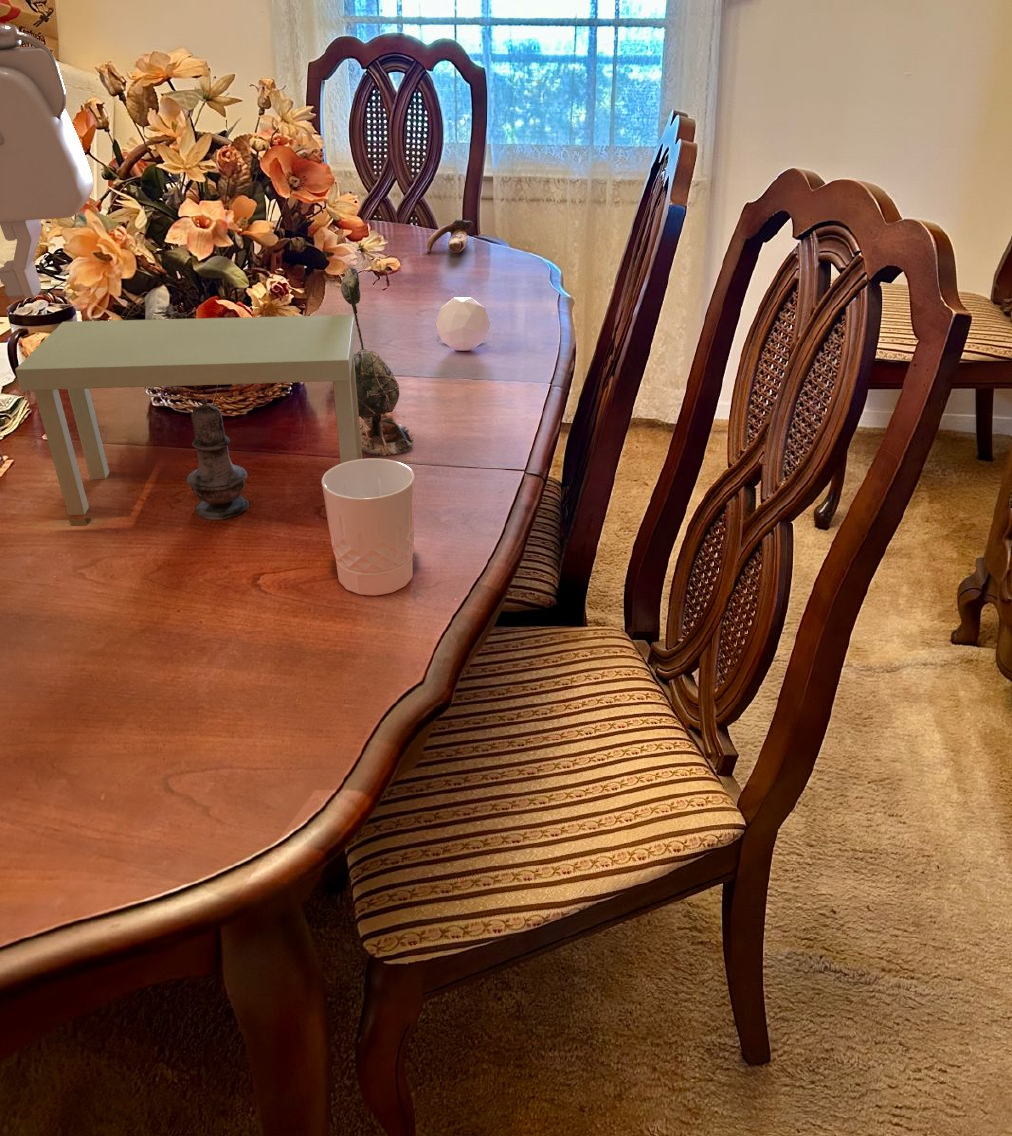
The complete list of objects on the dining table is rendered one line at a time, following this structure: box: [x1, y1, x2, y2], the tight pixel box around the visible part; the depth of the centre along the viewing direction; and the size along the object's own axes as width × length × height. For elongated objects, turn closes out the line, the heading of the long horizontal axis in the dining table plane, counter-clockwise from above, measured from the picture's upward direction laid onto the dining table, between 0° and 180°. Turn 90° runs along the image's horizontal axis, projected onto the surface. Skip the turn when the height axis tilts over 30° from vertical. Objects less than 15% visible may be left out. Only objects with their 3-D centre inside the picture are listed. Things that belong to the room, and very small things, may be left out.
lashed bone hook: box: [426, 219, 474, 254], centre depth 193 cm, size 9×5×18 cm
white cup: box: [321, 457, 415, 596], centre depth 82 cm, size 8×8×10 cm
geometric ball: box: [435, 296, 491, 351], centre depth 137 cm, size 8×8×8 cm
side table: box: [14, 314, 363, 527], centre depth 93 cm, size 29×14×17 cm, turn 96°
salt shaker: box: [186, 396, 249, 521], centre depth 93 cm, size 6×6×12 cm
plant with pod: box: [340, 267, 414, 457], centre depth 104 cm, size 8×11×20 cm
